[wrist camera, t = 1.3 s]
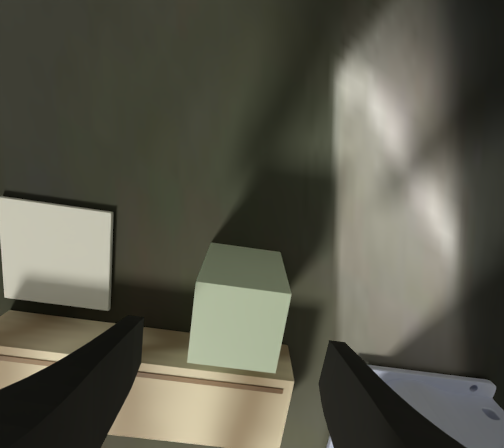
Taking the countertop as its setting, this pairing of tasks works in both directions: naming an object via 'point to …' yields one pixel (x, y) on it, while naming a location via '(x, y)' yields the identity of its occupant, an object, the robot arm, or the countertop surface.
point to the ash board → (162, 384)
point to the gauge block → (239, 309)
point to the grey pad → (56, 253)
